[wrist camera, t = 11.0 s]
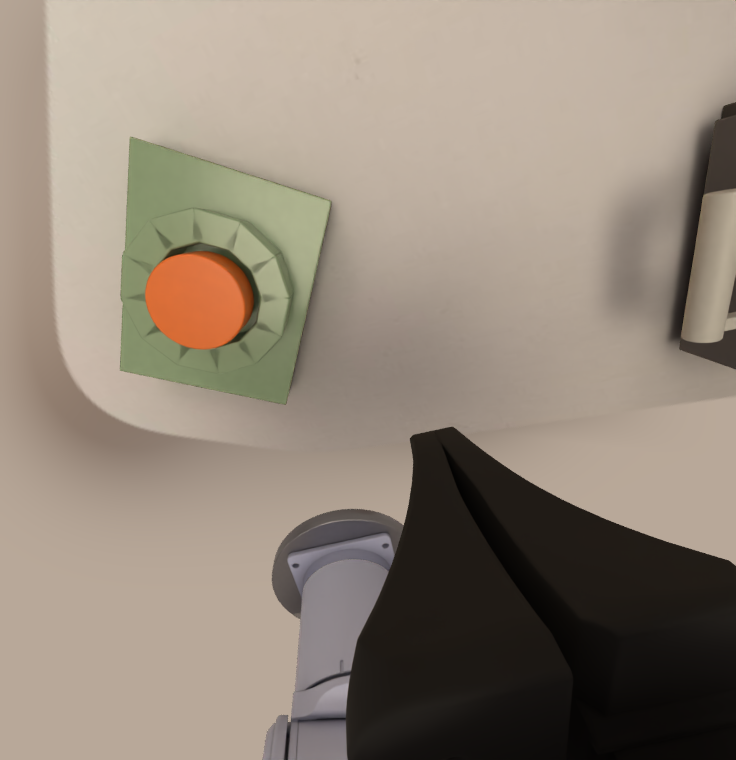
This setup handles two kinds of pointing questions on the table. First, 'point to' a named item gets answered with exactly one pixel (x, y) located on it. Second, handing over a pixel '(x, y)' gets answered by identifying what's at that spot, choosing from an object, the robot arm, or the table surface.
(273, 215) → the button housing
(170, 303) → the button
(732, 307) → the drawer
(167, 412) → the table surface
